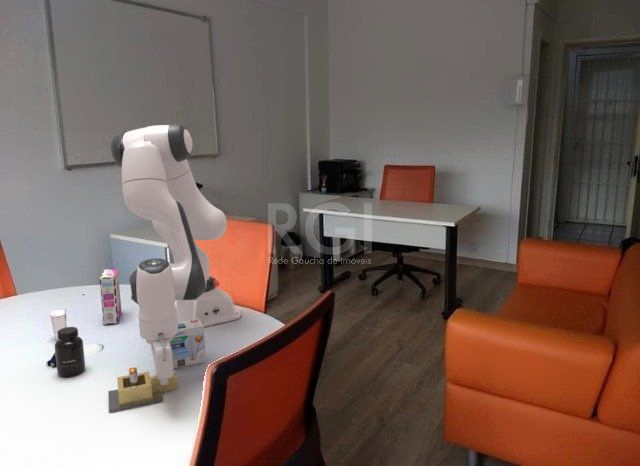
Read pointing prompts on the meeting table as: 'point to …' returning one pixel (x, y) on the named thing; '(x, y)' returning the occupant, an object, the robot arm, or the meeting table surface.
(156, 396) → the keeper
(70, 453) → the meeting table surface
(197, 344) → the light bulb box
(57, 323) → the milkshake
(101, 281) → the candy bar box
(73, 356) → the supplement bottle
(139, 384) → the wooden frame
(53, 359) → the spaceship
